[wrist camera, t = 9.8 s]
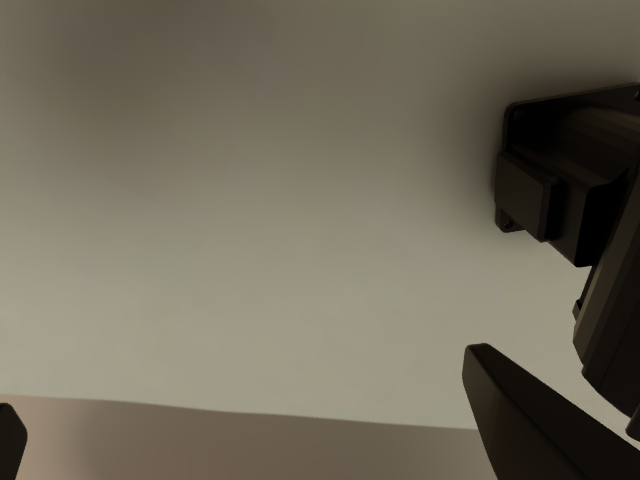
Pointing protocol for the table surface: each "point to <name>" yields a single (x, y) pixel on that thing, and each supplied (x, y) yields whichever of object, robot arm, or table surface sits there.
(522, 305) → the table surface
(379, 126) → the table surface
